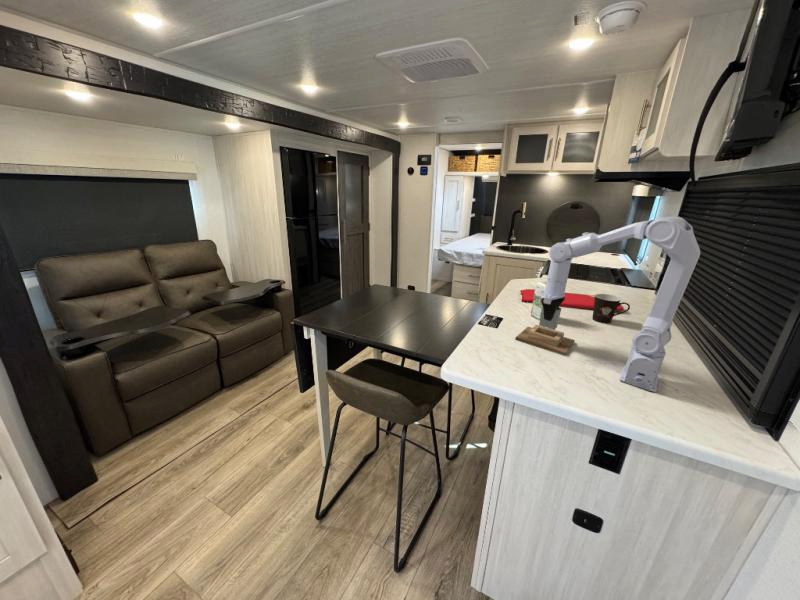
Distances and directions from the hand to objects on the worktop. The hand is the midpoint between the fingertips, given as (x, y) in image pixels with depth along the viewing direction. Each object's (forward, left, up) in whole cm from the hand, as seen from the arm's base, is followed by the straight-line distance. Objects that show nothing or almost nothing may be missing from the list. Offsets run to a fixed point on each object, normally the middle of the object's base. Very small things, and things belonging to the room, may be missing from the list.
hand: (549, 318), depth 103 cm
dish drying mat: (+49, +5, -10) cm, 50 cm away
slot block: (0, 0, -9) cm, 9 cm away
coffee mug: (+35, -13, -9) cm, 38 cm away
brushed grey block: (0, 0, -3) cm, 3 cm away
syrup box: (+21, +8, -9) cm, 24 cm away
